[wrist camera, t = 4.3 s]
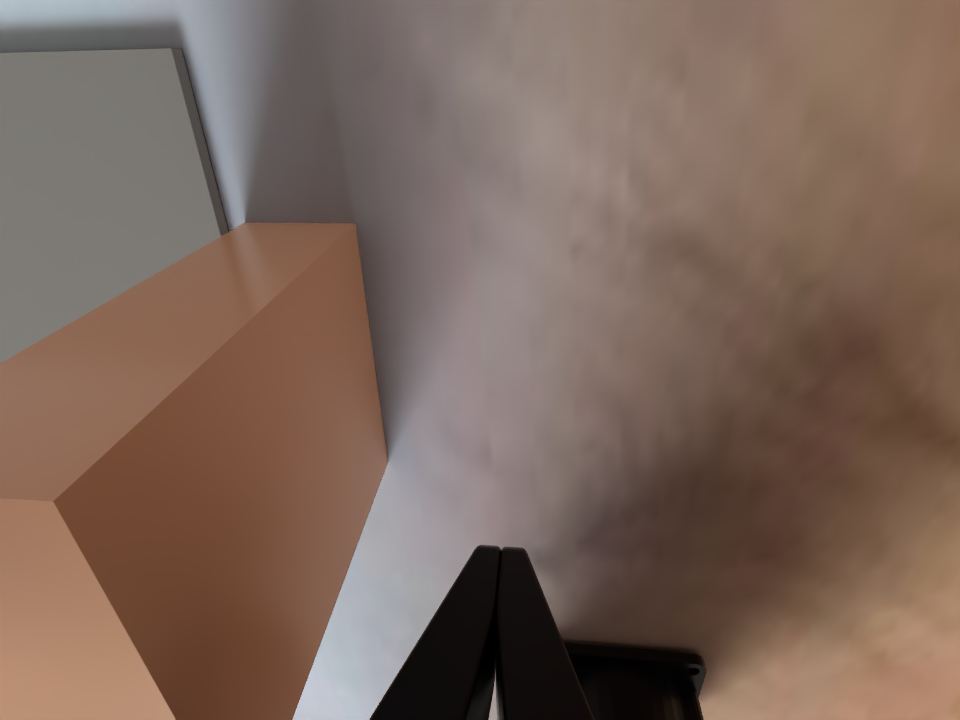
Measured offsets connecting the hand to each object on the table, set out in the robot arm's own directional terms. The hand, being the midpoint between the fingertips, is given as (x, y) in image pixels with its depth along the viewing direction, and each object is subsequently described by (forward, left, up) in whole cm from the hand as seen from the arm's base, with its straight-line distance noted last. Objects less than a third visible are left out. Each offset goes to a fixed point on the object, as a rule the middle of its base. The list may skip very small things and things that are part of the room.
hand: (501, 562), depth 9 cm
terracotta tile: (+6, 0, -7) cm, 9 cm away
